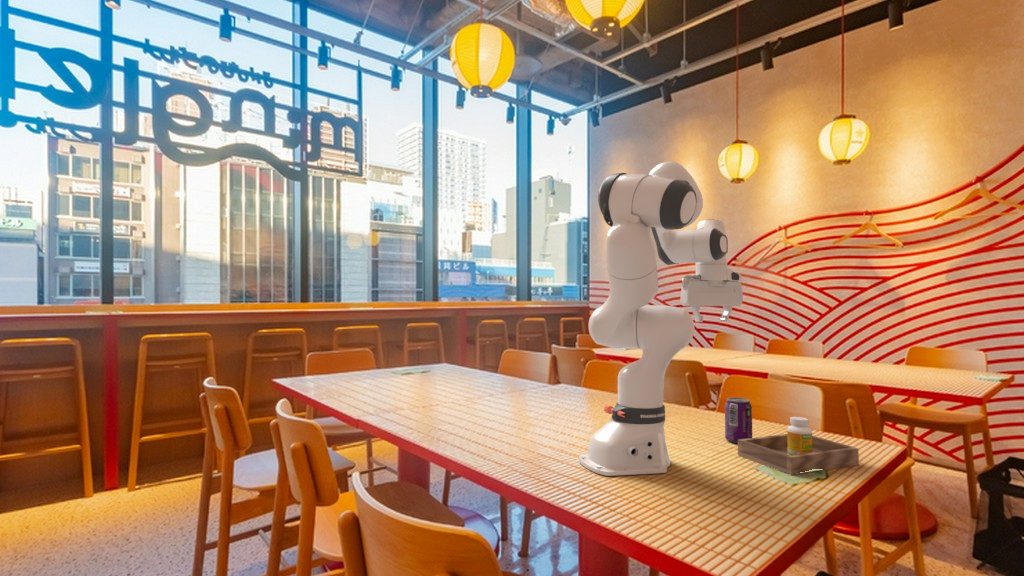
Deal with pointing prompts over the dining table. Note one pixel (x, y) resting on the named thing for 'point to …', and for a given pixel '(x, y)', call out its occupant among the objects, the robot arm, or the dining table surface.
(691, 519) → the dining table surface
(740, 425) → the beverage can
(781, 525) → the dining table surface
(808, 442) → the supplement bottle
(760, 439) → the serving tray
